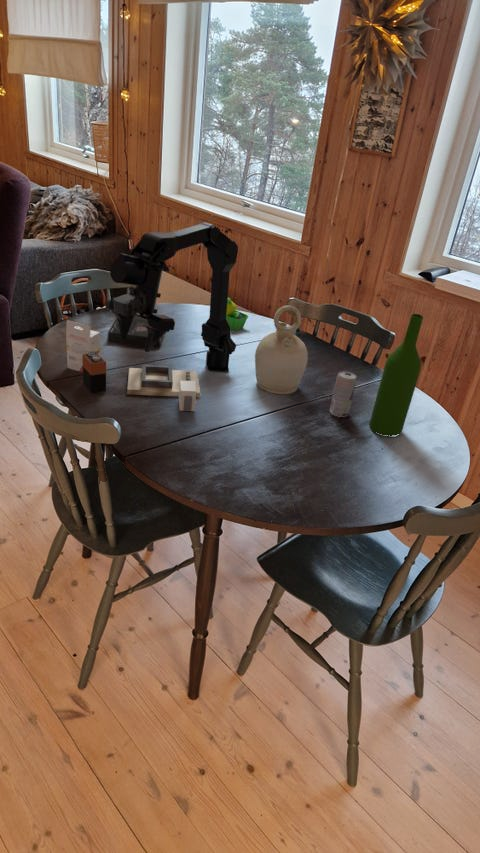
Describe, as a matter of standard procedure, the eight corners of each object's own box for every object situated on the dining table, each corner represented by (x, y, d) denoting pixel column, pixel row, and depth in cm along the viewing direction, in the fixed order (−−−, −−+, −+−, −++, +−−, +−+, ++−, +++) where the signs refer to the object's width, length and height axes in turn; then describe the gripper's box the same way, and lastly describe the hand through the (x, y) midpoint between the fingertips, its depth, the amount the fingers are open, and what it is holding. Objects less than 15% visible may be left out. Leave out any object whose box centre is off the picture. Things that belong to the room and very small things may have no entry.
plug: (193, 400, 156) (194, 381, 153) (194, 412, 150) (196, 392, 147) (178, 400, 155) (180, 380, 152) (179, 412, 149) (181, 392, 146)
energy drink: (349, 411, 161) (358, 373, 155) (346, 419, 157) (355, 381, 151) (331, 407, 162) (339, 369, 156) (327, 414, 158) (336, 376, 152)
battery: (91, 394, 152) (90, 360, 147) (82, 383, 157) (81, 350, 152) (106, 392, 154) (106, 358, 149) (97, 381, 159) (97, 348, 154)
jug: (256, 371, 178) (267, 293, 165) (304, 380, 176) (319, 303, 164) (246, 391, 165) (258, 308, 152) (298, 401, 163) (314, 319, 151)
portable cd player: (160, 349, 185) (160, 338, 183) (107, 343, 184) (108, 332, 182) (166, 332, 199) (167, 321, 197) (118, 326, 198) (118, 315, 196)
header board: (196, 375, 170) (197, 365, 168) (199, 397, 158) (201, 386, 156) (129, 372, 166) (129, 361, 165) (127, 394, 154) (127, 382, 153)
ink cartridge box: (101, 369, 166) (101, 322, 158) (91, 375, 162) (90, 327, 154) (77, 362, 168) (75, 315, 161) (66, 368, 164) (64, 319, 157)
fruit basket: (248, 328, 210) (251, 299, 205) (231, 333, 204) (235, 302, 199) (226, 319, 217) (229, 290, 211) (209, 323, 211) (212, 293, 205)
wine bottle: (400, 424, 158) (434, 313, 142) (402, 440, 150) (437, 324, 134) (368, 418, 159) (398, 307, 143) (368, 433, 151) (399, 317, 135)
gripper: (97, 273, 138) (86, 334, 144) (150, 295, 129) (137, 359, 135) (130, 277, 148) (119, 334, 153) (182, 297, 138) (168, 358, 144)
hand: (134, 346), depth 146 cm, fingers open, 9 cm apart
